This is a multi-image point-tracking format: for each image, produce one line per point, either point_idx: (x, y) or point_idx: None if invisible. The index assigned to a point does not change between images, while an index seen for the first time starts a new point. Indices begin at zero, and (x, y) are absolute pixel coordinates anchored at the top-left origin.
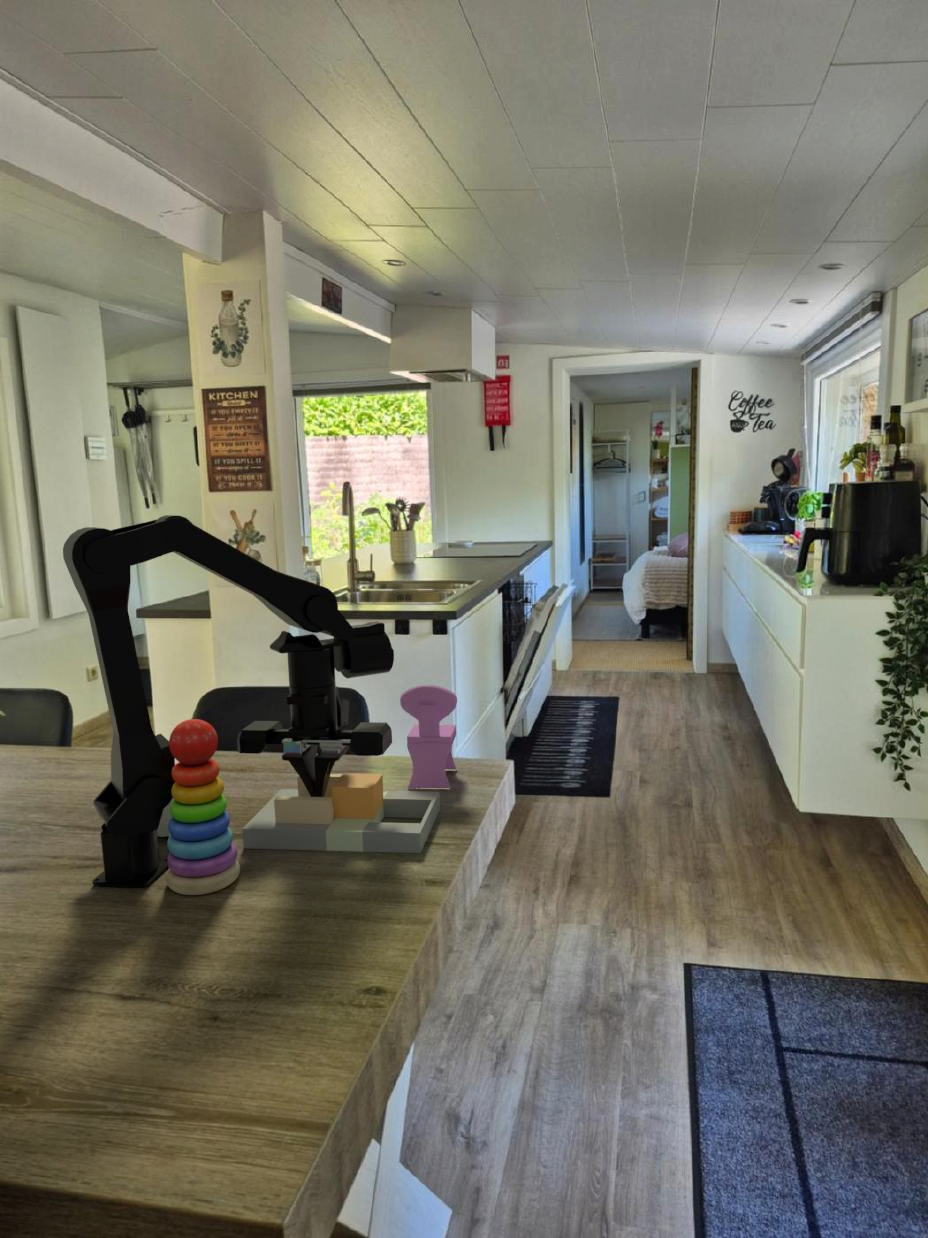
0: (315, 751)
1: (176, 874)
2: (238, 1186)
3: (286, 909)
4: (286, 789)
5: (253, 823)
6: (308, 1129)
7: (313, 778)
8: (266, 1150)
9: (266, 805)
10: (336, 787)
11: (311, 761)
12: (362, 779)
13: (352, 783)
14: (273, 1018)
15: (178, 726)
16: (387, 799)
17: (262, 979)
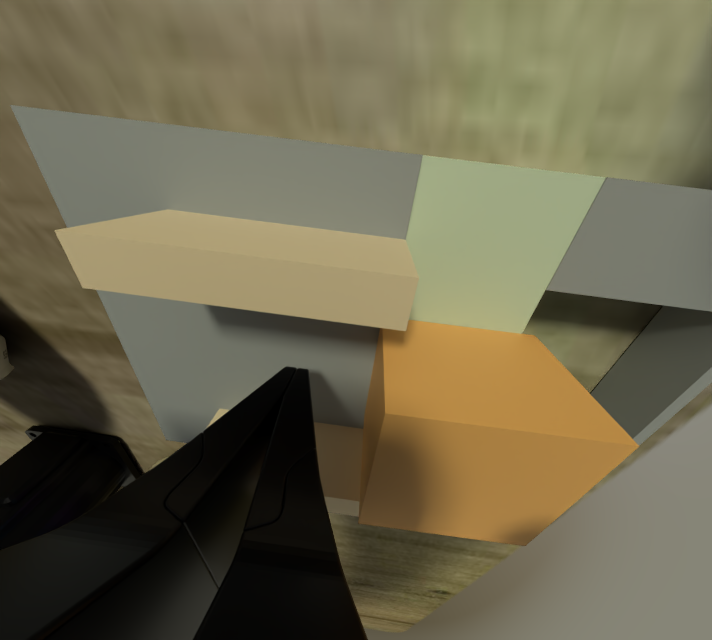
0: (95, 635)
1: None
2: (383, 628)
3: (344, 527)
4: (40, 113)
5: (171, 421)
6: (407, 623)
7: (251, 488)
8: (390, 624)
9: (112, 316)
10: (376, 523)
11: (183, 600)
12: (495, 489)
13: (442, 513)
14: (373, 594)
15: None
16: (564, 292)
17: (354, 576)
